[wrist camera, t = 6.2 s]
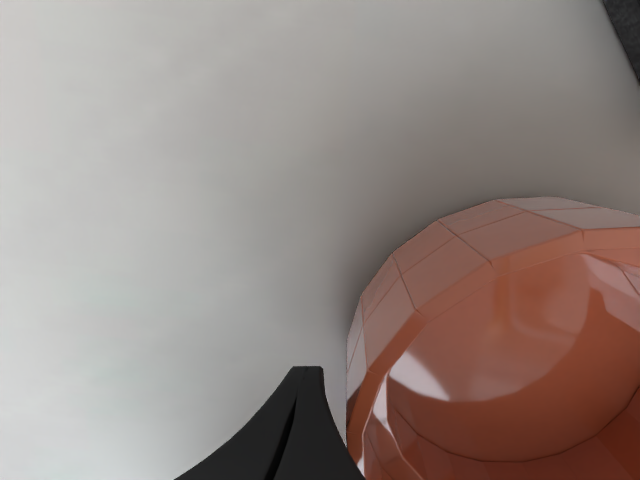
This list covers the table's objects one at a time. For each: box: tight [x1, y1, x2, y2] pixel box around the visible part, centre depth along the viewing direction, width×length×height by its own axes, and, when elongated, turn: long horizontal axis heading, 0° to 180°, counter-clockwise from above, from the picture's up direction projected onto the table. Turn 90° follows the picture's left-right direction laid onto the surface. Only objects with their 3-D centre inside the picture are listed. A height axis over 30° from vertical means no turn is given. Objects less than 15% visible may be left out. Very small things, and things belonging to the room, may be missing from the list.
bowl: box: [346, 196, 640, 480], centre depth 12 cm, size 13×13×6 cm
